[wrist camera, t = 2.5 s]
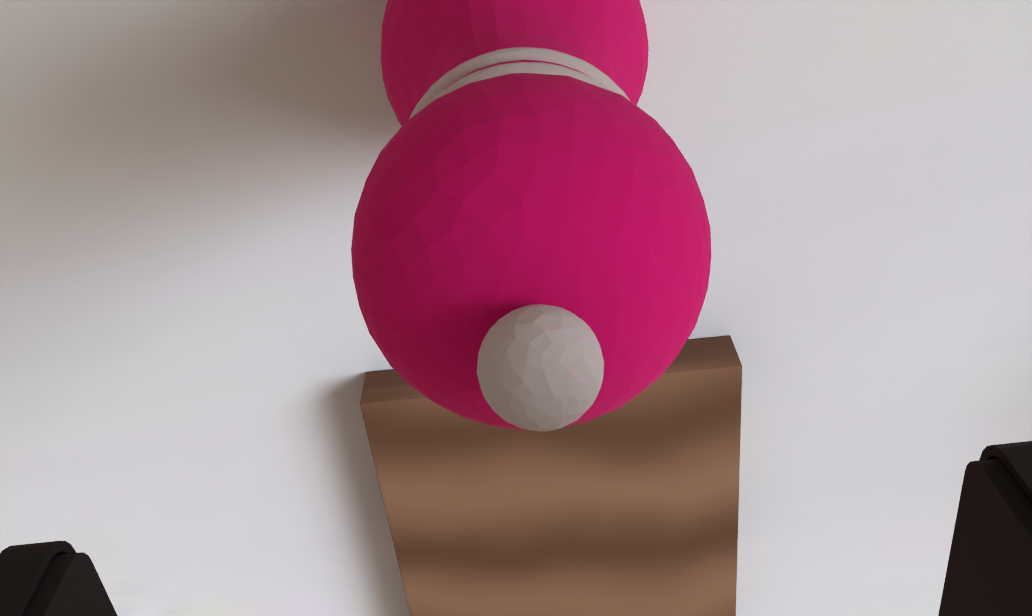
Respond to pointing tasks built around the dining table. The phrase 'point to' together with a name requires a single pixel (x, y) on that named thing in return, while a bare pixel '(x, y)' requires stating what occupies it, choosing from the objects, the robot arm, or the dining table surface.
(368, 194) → the pepper mill
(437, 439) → the walnut board
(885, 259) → the dining table surface
